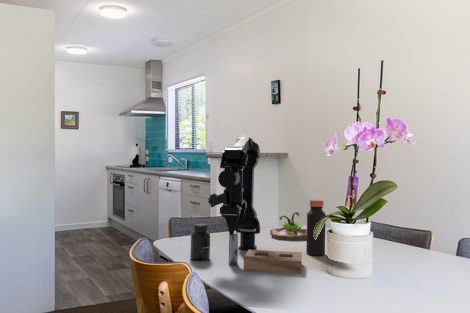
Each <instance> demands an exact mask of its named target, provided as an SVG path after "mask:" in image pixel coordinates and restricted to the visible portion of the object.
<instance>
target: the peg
mask: <svg viewBox="0 0 470 313" xmlns="http://www.w3.org/2000/svg"><path fill="white" fill-rule="evenodd" d="M238 247H239V233H234V234H233V235H230V234H229V233H228V265H229V266H237V265H238V264H239V262H238V261H239V260H238V259H239V257H238V256H239V249H238Z"/></svg>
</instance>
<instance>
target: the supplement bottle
mask: <svg viewBox="0 0 470 313" xmlns="http://www.w3.org/2000/svg"><path fill="white" fill-rule="evenodd" d="M193 230H194V231H193V232H192V233H190V260H192V261H196V262H197V261H199V262H203V261H208V260H209V259H210V257H211V234H210V232H209V231H208V230H209V226H208V224H206V223H195V224H194V225H193Z"/></svg>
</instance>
